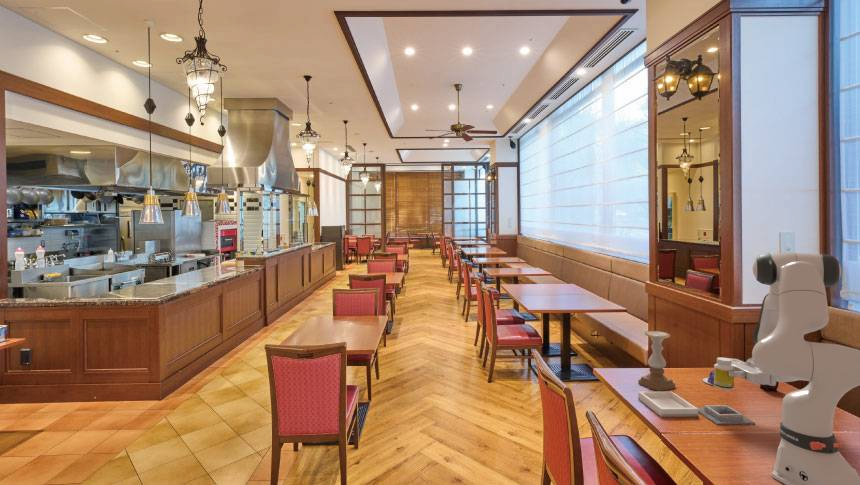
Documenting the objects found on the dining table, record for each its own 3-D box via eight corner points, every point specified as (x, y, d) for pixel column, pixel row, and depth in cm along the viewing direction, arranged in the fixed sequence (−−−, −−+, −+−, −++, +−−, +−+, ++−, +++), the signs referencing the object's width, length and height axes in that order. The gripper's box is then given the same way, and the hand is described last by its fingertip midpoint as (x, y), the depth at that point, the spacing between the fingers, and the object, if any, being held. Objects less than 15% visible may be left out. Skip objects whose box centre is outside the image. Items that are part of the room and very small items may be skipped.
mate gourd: (780, 389, 195) (781, 356, 194) (776, 394, 190) (776, 359, 189) (759, 385, 201) (760, 352, 200) (754, 389, 195) (755, 355, 195)
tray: (698, 416, 168) (698, 408, 168) (661, 417, 168) (661, 409, 167) (671, 398, 186) (671, 391, 186) (638, 398, 186) (638, 391, 185)
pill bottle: (736, 391, 164) (737, 362, 163) (718, 390, 165) (718, 361, 164) (728, 385, 170) (729, 357, 169) (711, 384, 171) (711, 356, 171)
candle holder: (637, 383, 203) (638, 332, 203) (654, 380, 208) (654, 329, 207) (659, 391, 193) (659, 337, 193) (675, 387, 198) (676, 334, 197)
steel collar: (755, 424, 161) (755, 417, 161) (716, 424, 161) (717, 418, 161) (728, 408, 175) (728, 402, 175) (693, 409, 175) (693, 402, 175)
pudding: (696, 380, 208) (696, 369, 207) (714, 377, 212) (714, 367, 212) (721, 389, 196) (721, 377, 196) (739, 386, 200) (740, 374, 200)
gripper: (738, 353, 178) (704, 354, 177) (779, 370, 157) (740, 370, 157) (738, 369, 178) (704, 369, 178) (779, 387, 157) (740, 388, 157)
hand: (721, 370), depth 167 cm, fingers closed on pill bottle, 6 cm apart
